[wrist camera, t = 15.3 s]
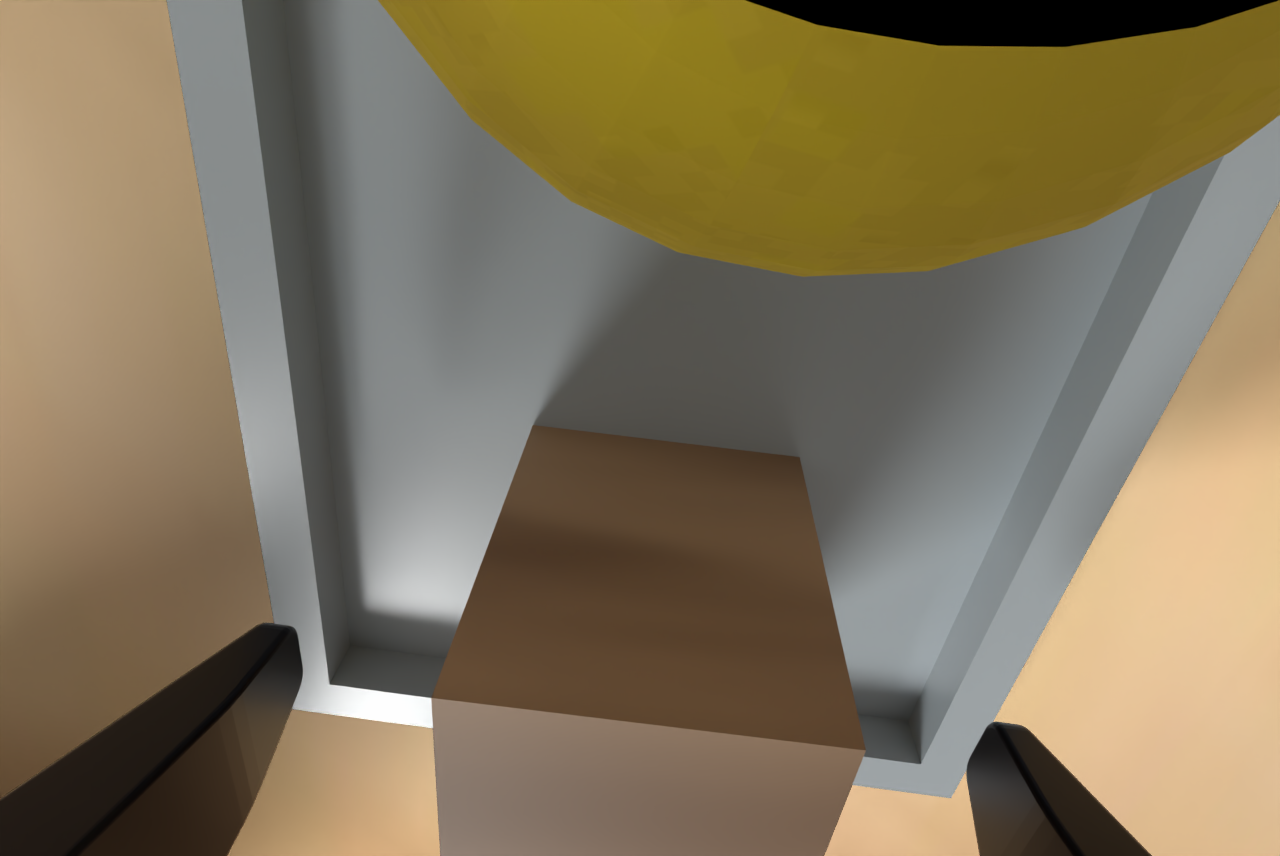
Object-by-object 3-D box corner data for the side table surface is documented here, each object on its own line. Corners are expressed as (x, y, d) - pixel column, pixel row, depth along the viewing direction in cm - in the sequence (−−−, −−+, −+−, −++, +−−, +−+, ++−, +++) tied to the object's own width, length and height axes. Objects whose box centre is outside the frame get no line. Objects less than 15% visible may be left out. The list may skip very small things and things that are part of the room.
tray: (928, 727, 15) (951, 797, 14) (324, 645, 15) (288, 709, 13) (1681, -817, 6) (1972, -1056, 4) (106, -1058, 6) (-71, -1376, 4)
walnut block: (751, 647, 13) (779, 966, 9) (526, 619, 13) (444, 925, 9) (799, 456, 11) (865, 751, 7) (533, 424, 11) (431, 698, 7)
